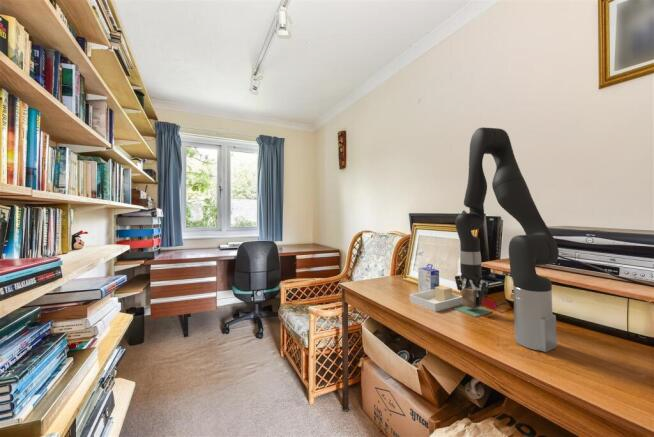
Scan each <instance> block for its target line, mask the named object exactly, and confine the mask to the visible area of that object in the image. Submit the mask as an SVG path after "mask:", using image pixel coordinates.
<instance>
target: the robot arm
mask: <svg viewBox="0 0 654 437" xmlns="http://www.w3.org/2000/svg"><path fill="white" fill-rule="evenodd" d="M469 143H470V144H469V153H468V154H469V156H468V157H469V158H468V179H467V185H466V190H465V194H464V200H463V205H464V206H465V207H466V208H469V212H465V213H459V214H458V215H457V216H456V218H455V224H454V226H455V229H456V233H457V236H458V238H459V241H460V242H459V244H460V252H459V264H460V265H459V266H460V273H461V274H460V275H455V276H454V279H455V285H456V288H457V290H458V291H460V292H461V293H462V289H463V288H464V289H465V288H469V287H471V288H472V289H473V291H475V295H476V306H480V305H481V304H482V305H483V303H482V298H484V297H487V295H488V291H489V286H490V281H485V280H483V278H482V272H483V271H482V256H481V254H482V253H481V240H480V238H479V237H477V236H474V235H473V233H472V231H478V230H479V229H481V228H483V225H484V222H485V206H484V204H485V200H486V195H487V190H488V182H487V179H486V176H485V172H484V168H483V161H484V160H483V159H484V156H485V155H491V156H492V158H493V160H494V162H495V172H494V175H493V178H492V183H491V184H492V190H493V193H494V196H495V198H496V201H497V203H498V204H499V206H500V207H501V208H502V209H503V210H504V211H505V212H506V213H507V214H509V215H510V216H511V217H512V218H514V219H515V220H516V221H517V222H518V223H519V225H520V226H521V227H522V229H523V232H524V233H525V234H520V235H519V234H518V235H515V236H513V237H512V238H511V239H510V240H509V243H508V260H509V270H510V271H509V272H510V277H511V279H512V283H513V284H512V286H513V288H512V289H513V301H514V302H513V313H514V314H513V319H514V341H515V342H516V343H517V344H519V345H520V346H523V347H525V348H528V349H531V350H535V351H541V352H543V353H548V352H550V351H552V350H554V349H556V348H557V346H558V344H557V340H558V339H557V316H556V314H553V286H552V285H553V284H552V281H551V279H549V278H548V277H545V276H542V275H539V274H538V273H537V269H536V266H547V265H552V264H554V263H556V262H557V260H558V259H559V254H560V253H559V252H560V251H559V246H558V243H557V242H556V240H555V238H554V236H553V234H552V232H551V230H550V229H549V227H548V226H547V225H546V222H545V221H544V219H543V217H542V216H541V214H540V212H539V209H538V207H537V205H536V203H535V201H534V199H533V197H532V194H531V192H530V189H529V187H528V184H527V182H526V180H525V178H524V176H523V174H522V172H521V169H520V167H519V163H518V162H517V159H516V157H515V154H514V153H515V152H514V150H513V146H512V143H511V140H510V136H509V133H508V132H507V131H506V130H505V129H503V128H497V127H496V128H494V127H479V128H477V129H476V130H475V131H474V132H473V134H472V136H471V138H470V142H469ZM478 291H479V293H478Z"/></svg>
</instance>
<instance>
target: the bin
mask: <svg viewBox="0 0 654 437" xmlns="http://www.w3.org/2000/svg"><path fill="white" fill-rule="evenodd" d="M409 302H410V303H413V304H415V305H418V306H420V307H422V308H425V309H427V310H430V311H432V312H434V313H435V312H439V311H443V310H447V309H450V308H453V307H454V308H456V307H459V306H463V305H462V295H458V294H454V293H452V299H449V300H446V301H442V302H439V301H436V300H435V289H432V290H428V291H423V292H420V291H418V292H416V293H411V294H409Z"/></svg>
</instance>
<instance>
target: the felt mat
mask: <svg viewBox="0 0 654 437" xmlns="http://www.w3.org/2000/svg"><path fill="white" fill-rule="evenodd" d="M452 310H454V311H458V312H460V313H463V314H465V315H468V316H471V317H474V318H477V317H481V316H484V315H488V314H490V313H493V311H492V310H491V309H488V308H487V309H486V308H483V307H478V308H475V309H473V308H470V307H467V306H464V305H458V306H455V307H454V308H453V307H452Z"/></svg>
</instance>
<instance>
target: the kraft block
mask: <svg viewBox="0 0 654 437" xmlns="http://www.w3.org/2000/svg"><path fill="white" fill-rule="evenodd" d="M452 294H453V288H452V287H449V286H445V285H439V286H438V287H435V300H436V301H439V302H442V301H446V300H449V299H452Z"/></svg>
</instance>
